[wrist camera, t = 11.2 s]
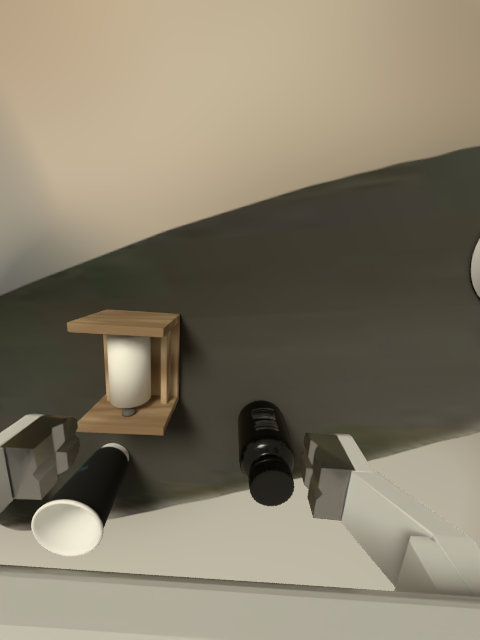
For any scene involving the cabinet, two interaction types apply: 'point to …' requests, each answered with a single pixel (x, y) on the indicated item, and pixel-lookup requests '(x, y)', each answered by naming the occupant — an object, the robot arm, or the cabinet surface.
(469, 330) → the cabinet surface
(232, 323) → the cabinet surface
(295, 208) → the cabinet surface
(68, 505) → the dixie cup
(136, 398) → the paper roll
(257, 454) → the supplement bottle
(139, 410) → the holder
